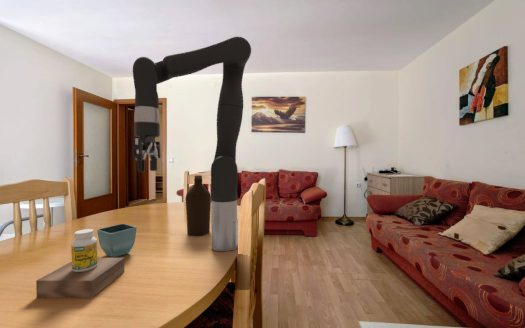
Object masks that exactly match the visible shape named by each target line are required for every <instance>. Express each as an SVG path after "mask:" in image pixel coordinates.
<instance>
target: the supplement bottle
mask: <svg viewBox="0 0 525 328" xmlns="http://www.w3.org/2000/svg"><path fill="white" fill-rule="evenodd" d="M94 231H95V230H94V229H92V228H87V229H86V228H85V229H79V230H77V231H75V232H74V240H73V241H72V242H71V262H72V270H73V271H74V272H84V271H88V270H91V269H93V268H95V267H96V266H97V264H98V260H97V258H98V239H97V237H95V236H94V235H95V232H94Z"/></svg>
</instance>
